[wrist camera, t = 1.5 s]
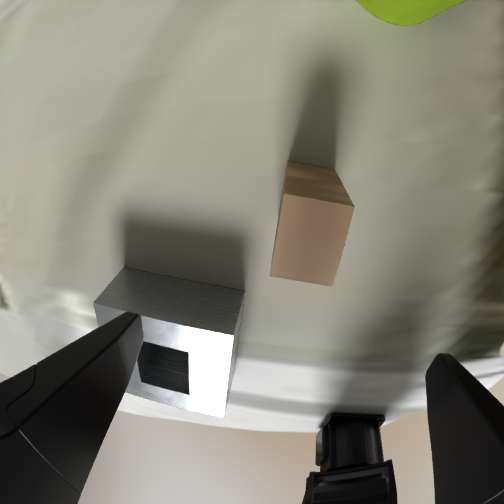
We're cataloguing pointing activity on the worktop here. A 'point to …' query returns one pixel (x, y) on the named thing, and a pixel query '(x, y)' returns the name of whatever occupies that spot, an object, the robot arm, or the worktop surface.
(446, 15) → the worktop surface
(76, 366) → the robot arm
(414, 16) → the soap dispenser
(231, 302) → the grey square socket block
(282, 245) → the tan rectangular block
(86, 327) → the worktop surface
